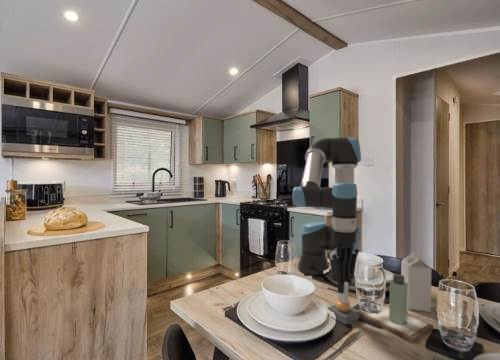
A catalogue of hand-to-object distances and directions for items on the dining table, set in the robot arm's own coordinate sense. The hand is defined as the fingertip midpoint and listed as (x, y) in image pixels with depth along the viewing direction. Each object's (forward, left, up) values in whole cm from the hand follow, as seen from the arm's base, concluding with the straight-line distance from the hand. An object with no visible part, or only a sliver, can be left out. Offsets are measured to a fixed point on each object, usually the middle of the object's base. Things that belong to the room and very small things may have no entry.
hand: (343, 301), depth 86 cm
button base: (0, 0, -5) cm, 5 cm away
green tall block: (+12, +11, -4) cm, 17 cm away
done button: (0, 0, -2) cm, 2 cm away
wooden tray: (+10, +12, -5) cm, 16 cm away
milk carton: (+9, +28, -5) cm, 30 cm away
